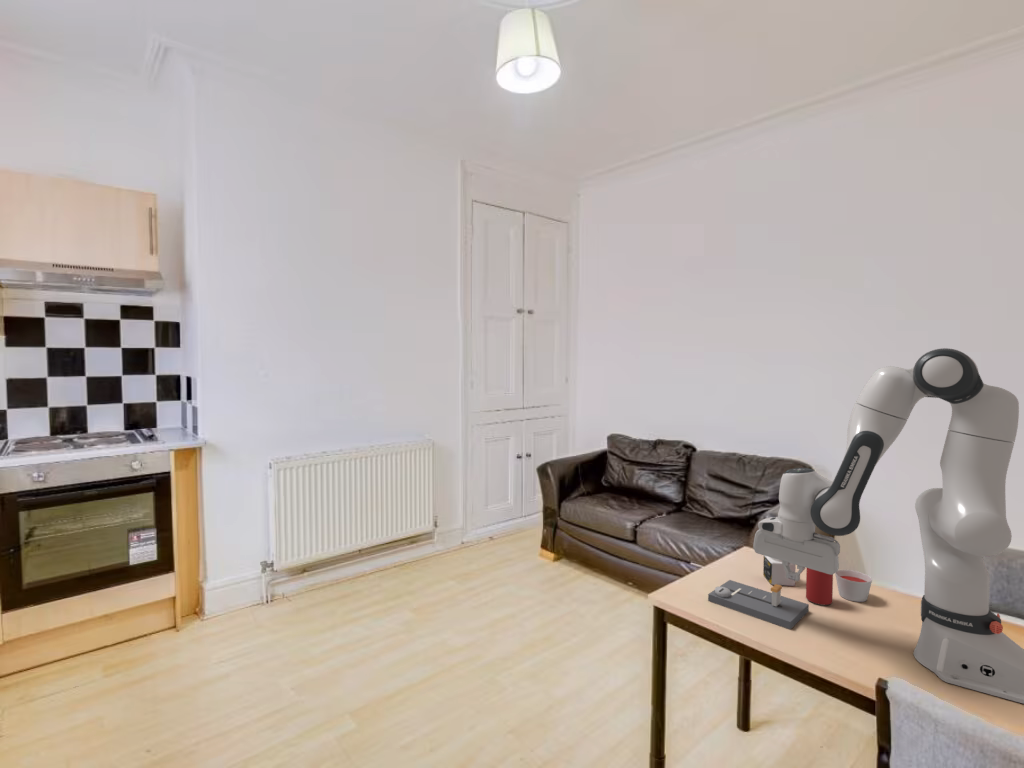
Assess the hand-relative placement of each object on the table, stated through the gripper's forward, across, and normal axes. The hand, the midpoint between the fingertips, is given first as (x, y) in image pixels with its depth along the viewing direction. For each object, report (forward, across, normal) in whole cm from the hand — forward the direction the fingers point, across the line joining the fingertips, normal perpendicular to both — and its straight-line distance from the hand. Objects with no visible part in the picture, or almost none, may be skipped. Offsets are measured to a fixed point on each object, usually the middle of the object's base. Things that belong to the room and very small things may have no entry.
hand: (792, 579), depth 138 cm
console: (+11, +9, -1) cm, 14 cm away
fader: (+9, +4, -1) cm, 10 cm away
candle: (+10, -8, -27) cm, 30 cm away
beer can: (+11, -2, -17) cm, 20 cm away
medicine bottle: (+11, +11, -23) cm, 28 cm away
